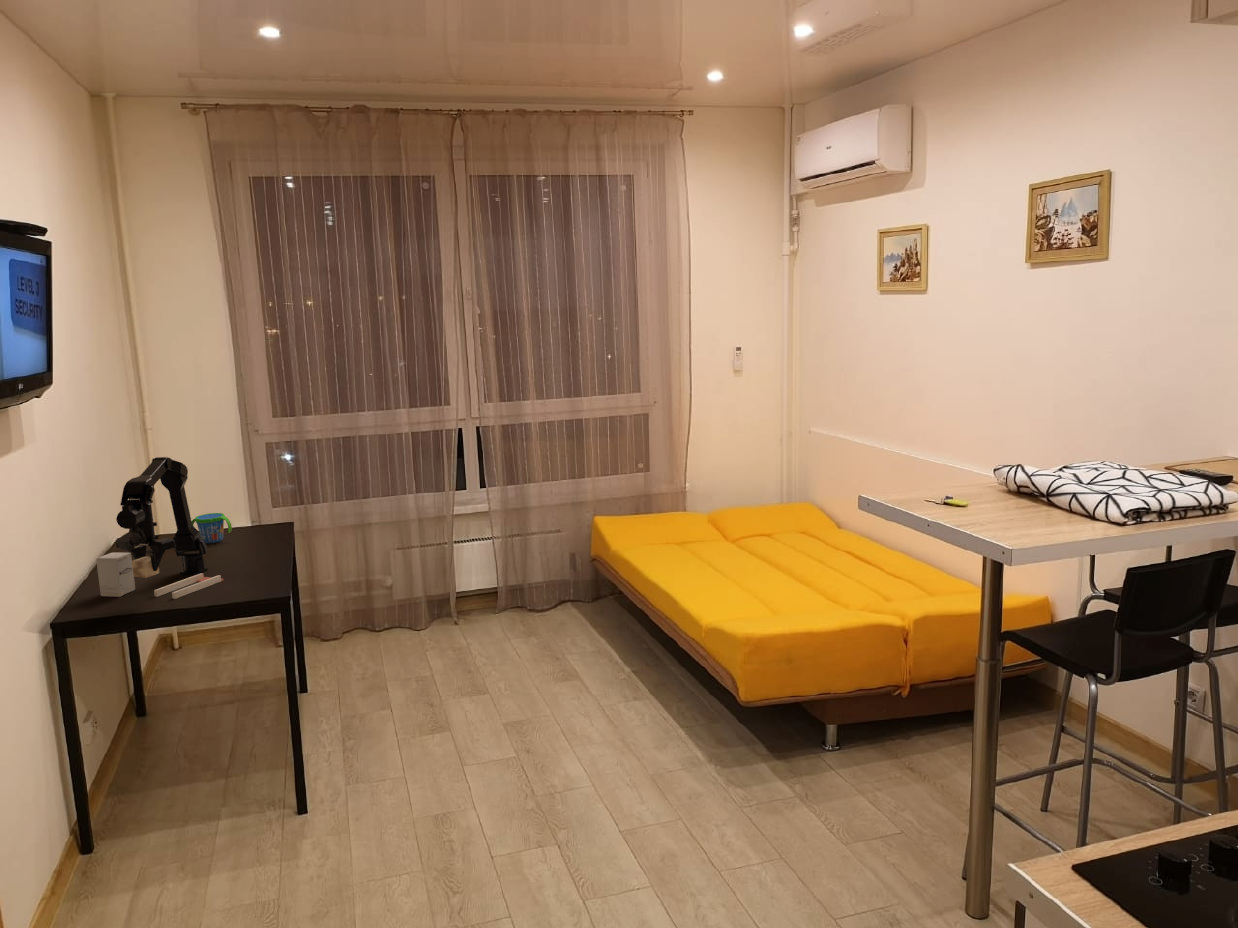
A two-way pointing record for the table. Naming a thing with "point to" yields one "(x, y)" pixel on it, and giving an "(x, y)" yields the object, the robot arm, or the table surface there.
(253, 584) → the table surface
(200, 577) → the channel
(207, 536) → the snack cup
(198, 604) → the table surface
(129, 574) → the supplement box
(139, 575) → the pine block
